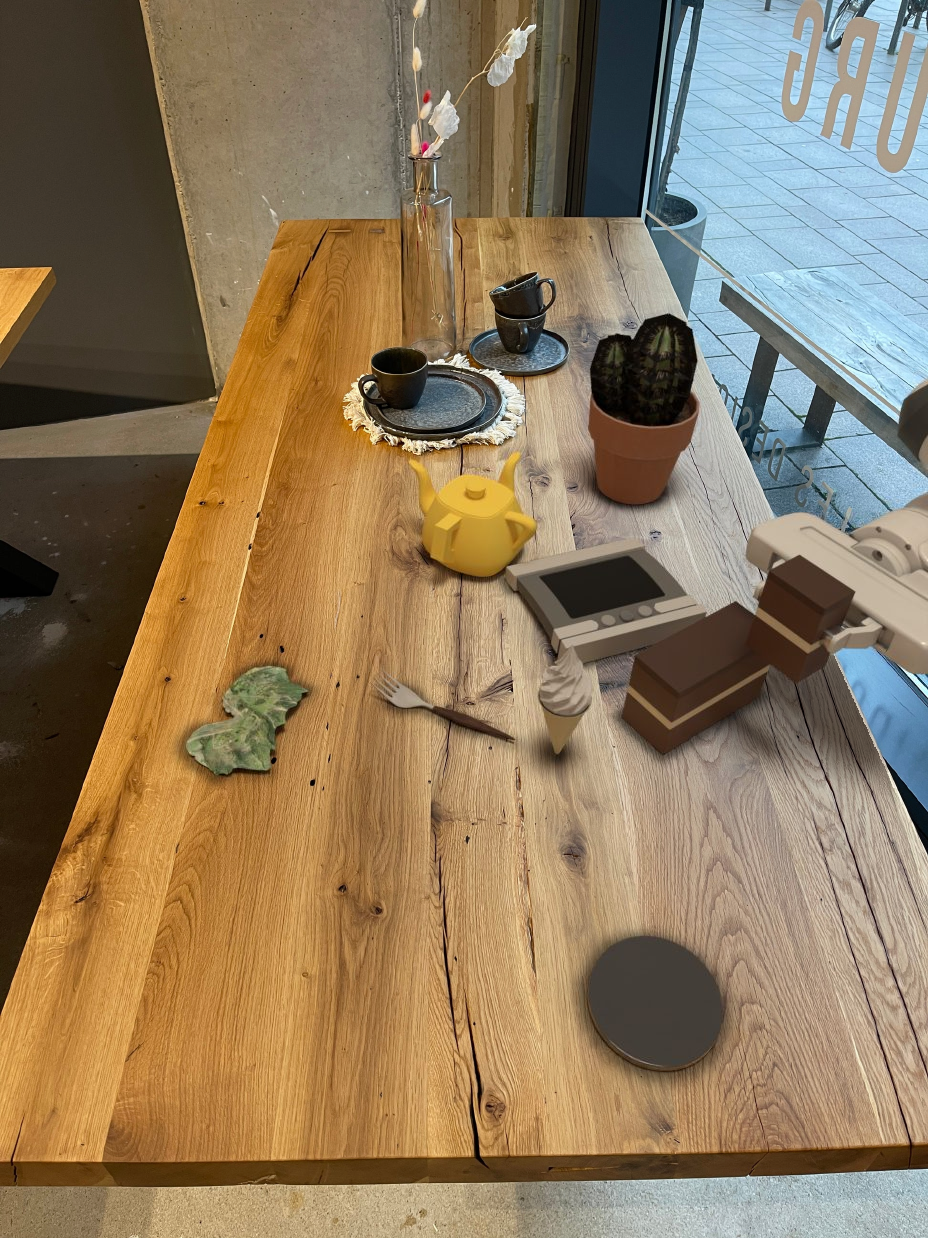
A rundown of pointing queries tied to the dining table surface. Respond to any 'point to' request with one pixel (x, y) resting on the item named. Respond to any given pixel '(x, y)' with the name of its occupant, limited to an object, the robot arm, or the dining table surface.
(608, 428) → the potted plant
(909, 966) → the dining table surface
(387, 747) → the dining table surface
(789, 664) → the cake slice
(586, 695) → the ice cream cone
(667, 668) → the cake loaf
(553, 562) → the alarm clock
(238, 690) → the lettuce leaf
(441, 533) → the teapot
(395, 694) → the fork
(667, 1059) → the plate
